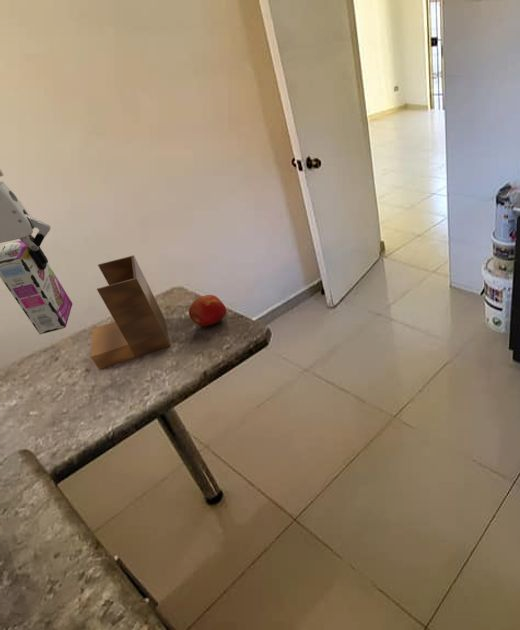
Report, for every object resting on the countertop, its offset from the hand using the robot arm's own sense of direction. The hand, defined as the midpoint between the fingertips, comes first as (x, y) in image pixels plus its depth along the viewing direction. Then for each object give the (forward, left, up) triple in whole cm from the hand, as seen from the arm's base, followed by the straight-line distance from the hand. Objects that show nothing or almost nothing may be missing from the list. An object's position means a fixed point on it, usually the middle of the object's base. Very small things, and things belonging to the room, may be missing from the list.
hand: (26, 270), depth 87 cm
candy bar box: (0, 0, -12) cm, 12 cm away
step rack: (+9, +10, -29) cm, 31 cm away
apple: (+28, +7, -29) cm, 40 cm away
